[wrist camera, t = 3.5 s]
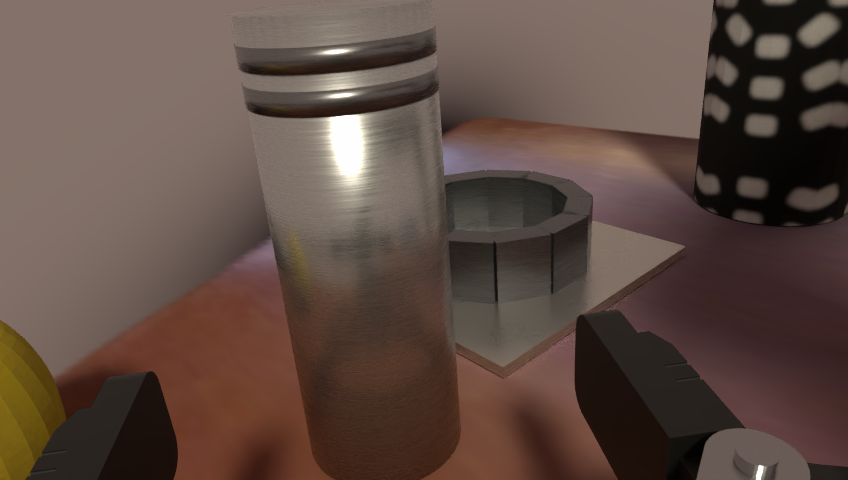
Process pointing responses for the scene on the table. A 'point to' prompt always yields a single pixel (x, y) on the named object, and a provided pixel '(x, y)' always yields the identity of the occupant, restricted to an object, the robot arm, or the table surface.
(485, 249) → the ring collar
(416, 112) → the piston
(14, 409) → the lemon
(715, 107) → the white-spotted black cylinder
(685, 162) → the table surface
